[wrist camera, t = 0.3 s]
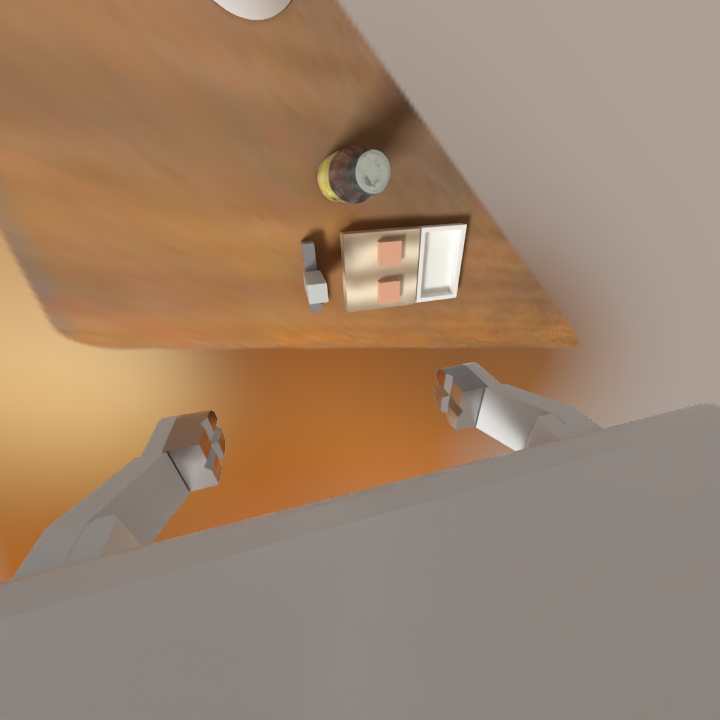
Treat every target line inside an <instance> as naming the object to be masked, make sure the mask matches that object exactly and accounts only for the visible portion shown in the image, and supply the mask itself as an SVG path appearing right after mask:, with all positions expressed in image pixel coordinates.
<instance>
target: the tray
mask: <svg viewBox="0 0 720 720" xmlns="http://www.w3.org/2000/svg"><path fill="white" fill-rule="evenodd" d="M416 227H417V228H420V241H419V255H418V270H417V284H416V298H415V302H424V301H431V300H439V299H447V298H455V297H456V294H457V288H458V281H459V274H460V267H461V261H462V254H463V247H464V241H465V234H466V227H467V224H462V223H453V224H440V225H427V226H416Z"/></svg>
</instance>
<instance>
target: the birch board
mask: <svg viewBox="0 0 720 720" xmlns="http://www.w3.org/2000/svg"><path fill="white" fill-rule="evenodd" d="M397 239H399V240H401V241H402V251H401V264H400V265H390V266H378V265H377V241H385V240H397ZM419 241H420V228H417V227H400V228H387V229H374V230H361V231H348V232H340V243H341V258H342V272H343V287H344V302H345V308H346V310H347V312H355V311H362V310H370V309H378V308H385V307H393V306H401V305H408V304H415V298H416V284H417V270H418V255H419ZM390 279H399V280H400V301H399V302H391V303H383V304H379V302H378V301H377V281H381V280H390Z"/></svg>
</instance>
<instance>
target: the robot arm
mask: <svg viewBox="0 0 720 720" xmlns="http://www.w3.org/2000/svg"><path fill="white" fill-rule="evenodd" d="M214 1H215V2H217V3H218V4H219V5H220V6H222V7H223V8H224V9H226V10H227V11H229V12H231V13H233V14H235V15H237V16H239V17H242V18H246V19H251V20H263V19H267V18H270V17H273V16H275V15H276V14H278V13H280V12H281V11H282V10H283V9H284V8H285V7H286V6H287V5H288V4H289V3H290V1H291V0H214ZM436 379H437V381H438V382H439V383H438V384H437V385H436V386H435V388H434V398H435V402H436V404H437V406H438V408H439V409H440V410H441V411H443V412H445V413H447V417H446V418H447V420H448V421H449V423H450V424H451V425H452V427H453V428H454V429H455V430H460V429H464V428H470V427H475V426H476V428H478V429H480V430H481V431H483V432H485V433H486V434H488V435H490V436H491V437H493V438H495V439H496V440H498V441H500V442H501V443H503V444H505V445H507V446H508V447H510V448H512V449H513V450H515V451H514V452H510V453H506V454H502V455H498V456H494V457H490V458H487V459H482V460H478V461H475V462H471V463H467V464H463V465H459V466H455V467H451V468H447V469H443V470H439V471H435V472H431V473H427V474H423V475H419V476H416V477H412V478H408V479H404V480H400V481H396V482H392V483H388V484H384V485H380V486H376V487H372V488H368V489H365V490H360V491H357V492H353V493H349V494H345V495H341V496H337V497H333V498H329V499H325V500H321V501H317V502H313V503H309V504H306V505H302V506H298V507H294V508H290V509H286V510H282V511H278V512H274V513H270V514H266V515H262V516H258V517H254V518H251V519H247V520H243V521H239V522H235V523H231V524H227V525H223V526H219V527H215V528H211V529H208V530H204V531H199V532H196V533H192V534H188V535H184V536H180V537H176V538H172V539H168V540H164V541H160V542H156V543H152V544H151V542H152V541H153V540H154V539H155V537H156V536H157V535H158V534H159V532H160V531H161V530H162V528H163V527H164V526H165V524H166V523H167V522H168V520H169V519H170V518H171V517H172V515H173V514H174V513H175V512H176V511H177V509H178V508H179V507H180V505H181V504H182V503H183V502H184V500H185V499H186V498H187V496H188V495H189V494H190V491H194V490H198V489H202V488H206V487H210V486H214V485H218V484H219V480H220V475H221V470H222V466H221V464H220V460H221V459H222V458H223V457H224V453H225V438H224V434H223V431H222V429H221V428H219V427H217V426H216V424H217V417H216V415H215V413H214V411H212V410H210V411H204V412H197V413H191V414H184V415H179V416H173V417H167V418H163V419H161V420H160V421H159V422H158V424H157V426H156V428H155V430H154V432H153V434H152V436H151V438H150V440H149V442H148V444H147V446H146V447H145V449H144V452H143V453H142V456H141V457H139V458H135V459H134V460H133V461H131V462H130V463H129V464H127V465H126V466H125V467H123V468H122V469H121V470H120V471H118V472H117V473H116V474H115V475H114V476H112V477H111V478H110V479H108V480H107V481H106V482H104V483H103V484H102V485H101V486H99V487H98V488H97V489H96V490H94V491H93V492H92V493H90V494H89V495H88V496H87V497H86V498H84V499H83V500H82V501H80V502H79V503H78V504H76V505H75V506H74V507H73V508H71V509H70V510H69V511H68V512H66V513H65V514H64V515H62V516H61V517H60V518H59V519H57V520H56V521H55V522H54V523H52V524H51V525H50V526H48V527H47V528H46V529H45V531H44V532H43V534H42V535H41V536H40V538H39V539H38V541H37V542H36V544H35V545H34V547H33V548H32V550H31V551H30V553H29V554H28V555H27V557H26V558H25V560H24V561H23V563H22V565H21V566H20V567H19V569H18V570H17V572H16V573H15V575H14V576H13V578H12V579H11V580H8V581H3V582H0V720H720V405H715V404H699V405H694V406H690V407H686V408H683V409H678V410H675V411H671V412H667V413H663V414H659V415H655V416H652V417H647V418H644V419H639V420H635V421H631V422H628V423H624V424H620V425H616V426H612V427H608V428H604V429H602V428H601V427H600V426H599V425H597V424H596V423H595V422H593V421H592V420H591V419H589V418H588V417H587V416H585V415H584V414H583V413H581V412H580V411H579V410H577V409H576V408H574V407H572V406H569V405H566V404H563V403H560V402H557V401H554V400H551V399H548V398H545V397H542V396H540V395H537V394H534V393H531V392H528V391H525V390H522V389H519V388H516V387H513V386H510V385H507V384H500V383H499V382H498V381H497V380H496V379H495V378H494V377H492V376H491V375H490V374H489V373H488V372H487V371H486V370H484V369H483V368H482V367H481V366H480V365H479V364H477V363H475V362H472V363H467V364H462V365H459V366H454V367H449V368H443V369H438V371H437V373H436Z"/></svg>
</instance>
